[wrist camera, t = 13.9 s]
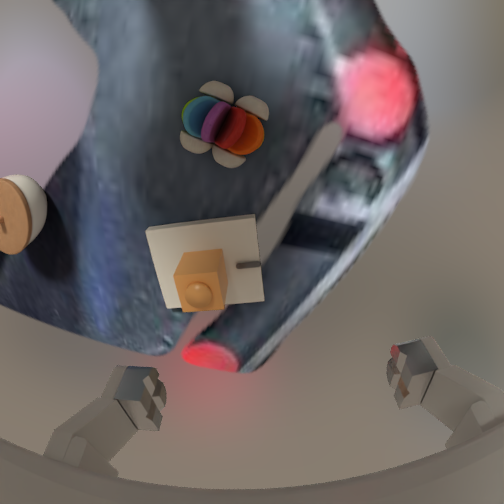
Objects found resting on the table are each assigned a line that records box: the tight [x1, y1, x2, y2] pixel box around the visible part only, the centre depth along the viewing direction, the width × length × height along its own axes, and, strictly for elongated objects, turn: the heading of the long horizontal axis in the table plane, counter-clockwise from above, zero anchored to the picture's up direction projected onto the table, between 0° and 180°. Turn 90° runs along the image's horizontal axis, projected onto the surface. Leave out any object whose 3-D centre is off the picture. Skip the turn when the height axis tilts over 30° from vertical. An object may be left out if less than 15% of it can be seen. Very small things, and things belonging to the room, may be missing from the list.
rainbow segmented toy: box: [180, 81, 269, 168], centre depth 30 cm, size 8×10×7 cm
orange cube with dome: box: [173, 249, 228, 312], centre depth 36 cm, size 5×5×7 cm
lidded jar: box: [0, 175, 47, 254], centre depth 32 cm, size 11×11×9 cm
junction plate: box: [145, 214, 264, 308], centre depth 38 cm, size 12×14×6 cm
